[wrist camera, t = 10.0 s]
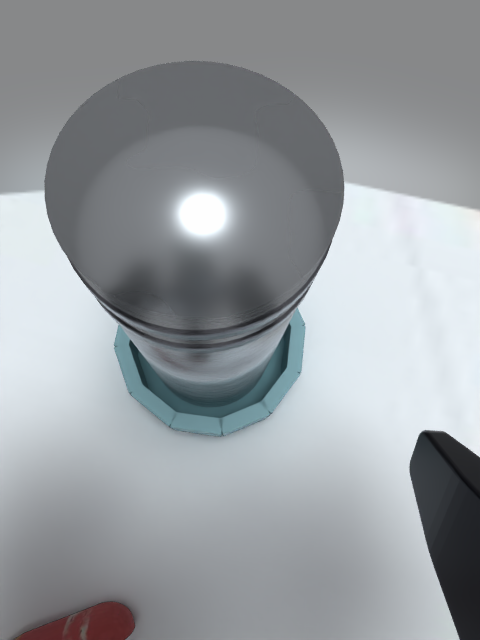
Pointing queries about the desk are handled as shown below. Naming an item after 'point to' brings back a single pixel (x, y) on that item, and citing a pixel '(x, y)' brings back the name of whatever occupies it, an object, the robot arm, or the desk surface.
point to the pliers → (88, 625)
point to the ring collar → (223, 418)
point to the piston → (197, 216)
